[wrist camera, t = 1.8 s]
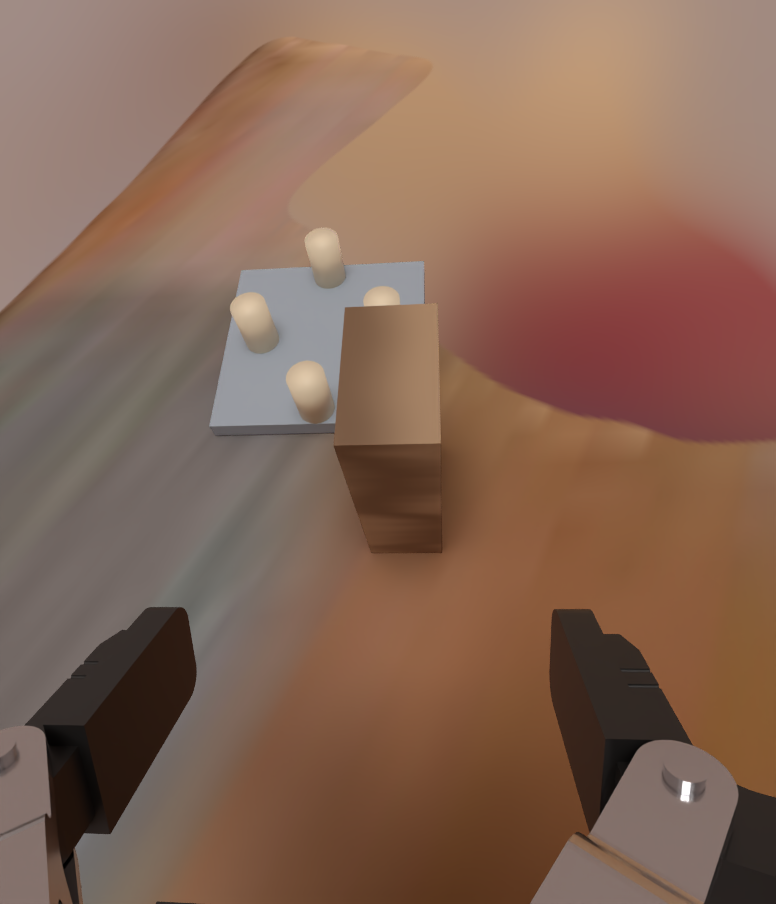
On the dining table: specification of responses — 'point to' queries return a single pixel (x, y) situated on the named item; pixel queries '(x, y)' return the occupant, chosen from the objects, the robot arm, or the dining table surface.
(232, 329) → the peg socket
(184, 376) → the dining table surface
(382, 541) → the brown rectangular block
